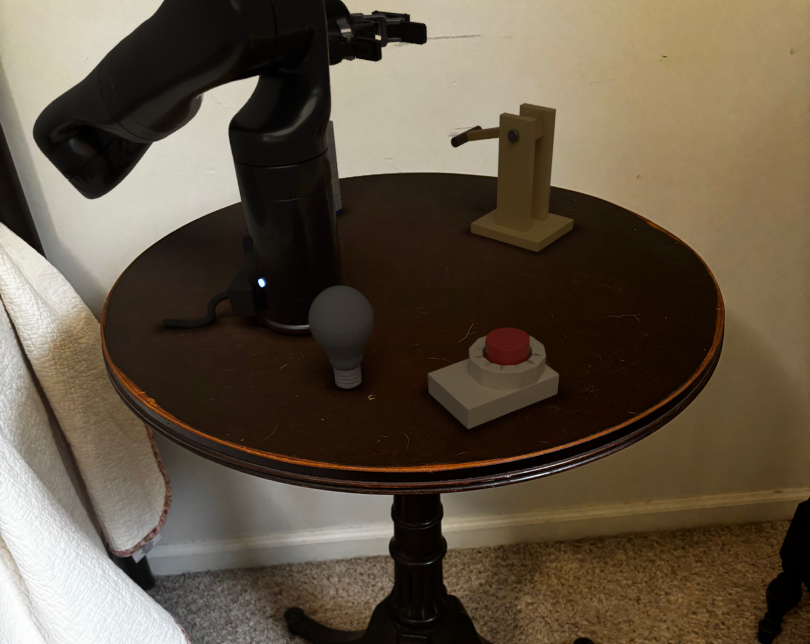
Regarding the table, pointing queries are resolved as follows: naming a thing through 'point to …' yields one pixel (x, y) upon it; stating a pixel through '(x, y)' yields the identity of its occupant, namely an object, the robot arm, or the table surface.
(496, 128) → the lever
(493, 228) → the stand
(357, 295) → the light bulb
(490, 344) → the bell button
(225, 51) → the robot arm
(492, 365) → the block
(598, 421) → the table surface
